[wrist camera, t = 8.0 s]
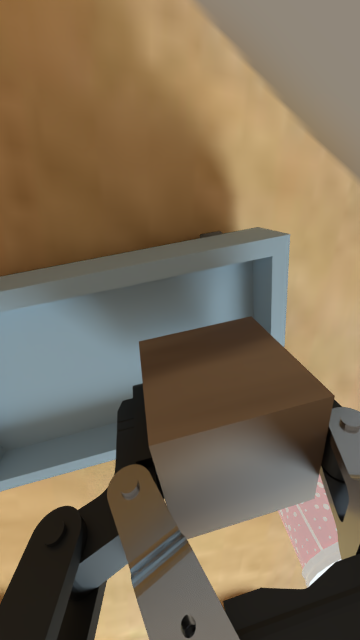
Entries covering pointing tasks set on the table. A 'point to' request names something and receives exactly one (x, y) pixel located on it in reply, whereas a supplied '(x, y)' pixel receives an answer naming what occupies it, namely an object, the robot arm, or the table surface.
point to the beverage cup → (313, 534)
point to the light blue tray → (115, 337)
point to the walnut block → (231, 424)
